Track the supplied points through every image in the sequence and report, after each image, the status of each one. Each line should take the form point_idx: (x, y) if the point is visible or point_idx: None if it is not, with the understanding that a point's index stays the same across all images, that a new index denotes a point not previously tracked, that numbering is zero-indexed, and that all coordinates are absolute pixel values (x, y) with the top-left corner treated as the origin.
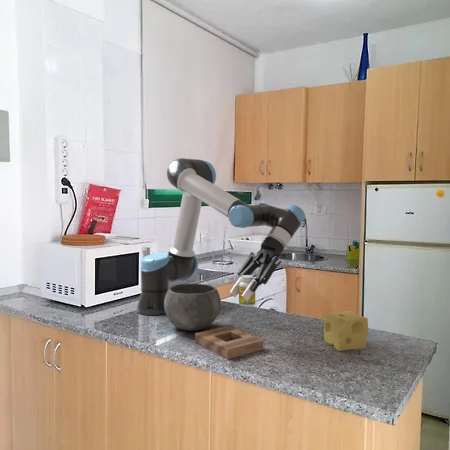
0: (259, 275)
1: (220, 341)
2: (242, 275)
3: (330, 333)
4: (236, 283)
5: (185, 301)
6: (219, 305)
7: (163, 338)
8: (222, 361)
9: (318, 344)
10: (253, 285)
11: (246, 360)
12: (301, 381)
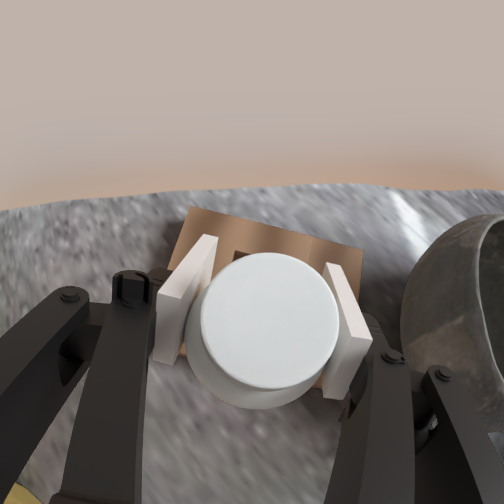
0: (102, 329)
1: (251, 242)
2: (336, 314)
3: (12, 499)
4: (345, 296)
5: (465, 223)
6: None
7: (421, 232)
8: (195, 204)
9: (48, 478)
10: (157, 287)
11: (146, 245)
12: (9, 228)
